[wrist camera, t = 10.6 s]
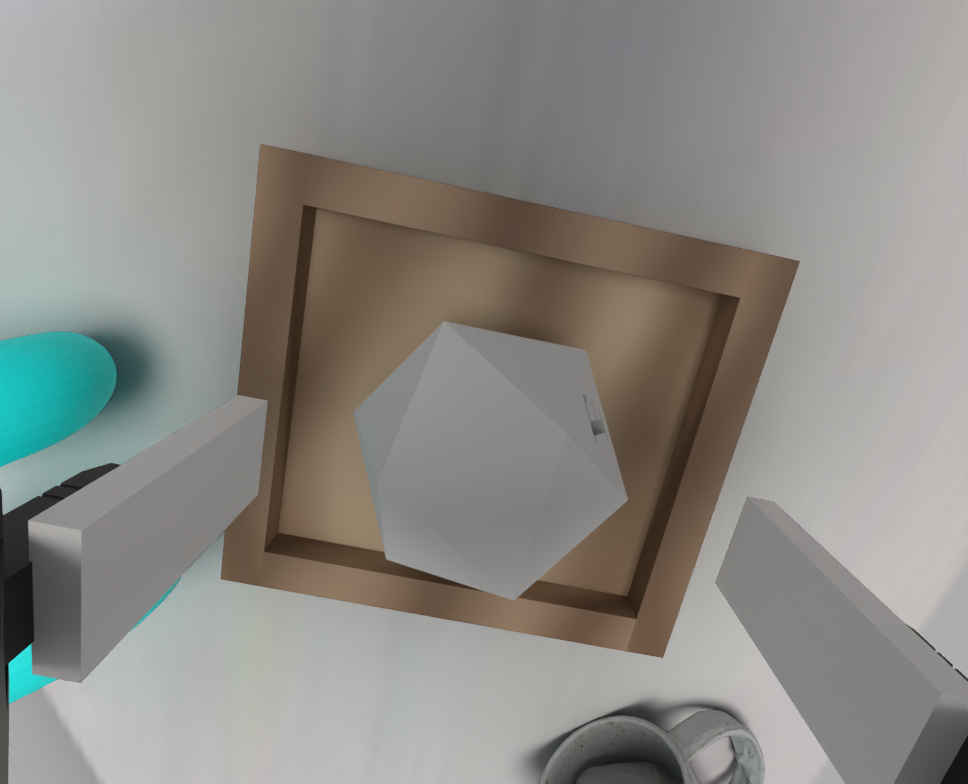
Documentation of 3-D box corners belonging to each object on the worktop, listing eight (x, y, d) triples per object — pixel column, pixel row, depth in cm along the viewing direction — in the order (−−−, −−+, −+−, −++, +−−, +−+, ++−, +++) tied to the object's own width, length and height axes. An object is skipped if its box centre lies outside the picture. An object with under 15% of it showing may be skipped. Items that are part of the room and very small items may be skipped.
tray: (768, 260, 21) (799, 261, 19) (648, 624, 25) (662, 657, 23) (283, 154, 20) (260, 143, 18) (242, 551, 24) (220, 579, 22)
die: (547, 536, 24) (727, 543, 15) (354, 604, 20) (453, 666, 11) (501, 358, 25) (646, 271, 16) (308, 389, 21) (366, 296, 12)
